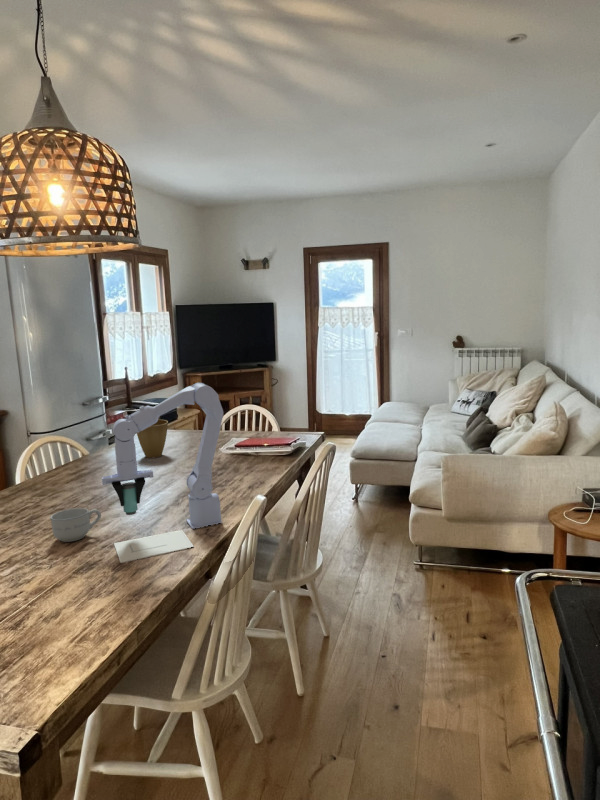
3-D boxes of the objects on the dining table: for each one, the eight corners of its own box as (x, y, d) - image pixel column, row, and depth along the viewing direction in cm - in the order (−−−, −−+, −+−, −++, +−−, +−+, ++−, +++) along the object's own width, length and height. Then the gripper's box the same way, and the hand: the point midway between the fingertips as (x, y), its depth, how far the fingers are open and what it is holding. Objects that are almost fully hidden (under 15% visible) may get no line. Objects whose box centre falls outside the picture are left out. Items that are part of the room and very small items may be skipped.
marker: (136, 509, 170) (134, 481, 168) (139, 514, 166) (136, 485, 165) (122, 512, 168) (120, 483, 167) (124, 516, 164) (122, 487, 163)
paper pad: (182, 530, 170) (182, 529, 170) (193, 547, 158) (193, 546, 158) (113, 544, 162) (113, 543, 162) (120, 563, 150) (120, 561, 150)
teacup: (50, 547, 161) (47, 521, 160) (55, 533, 171) (52, 509, 170) (101, 540, 165) (98, 515, 164) (103, 527, 175) (101, 503, 174)
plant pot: (131, 459, 257) (128, 425, 254) (148, 451, 271) (146, 419, 268) (159, 460, 252) (156, 426, 250) (176, 452, 266) (173, 419, 264)
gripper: (148, 453, 171) (152, 495, 173) (98, 460, 165) (103, 504, 167) (153, 458, 165) (156, 502, 167) (101, 465, 159) (105, 511, 161)
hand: (130, 503), depth 167 cm, fingers closed on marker, 4 cm apart
